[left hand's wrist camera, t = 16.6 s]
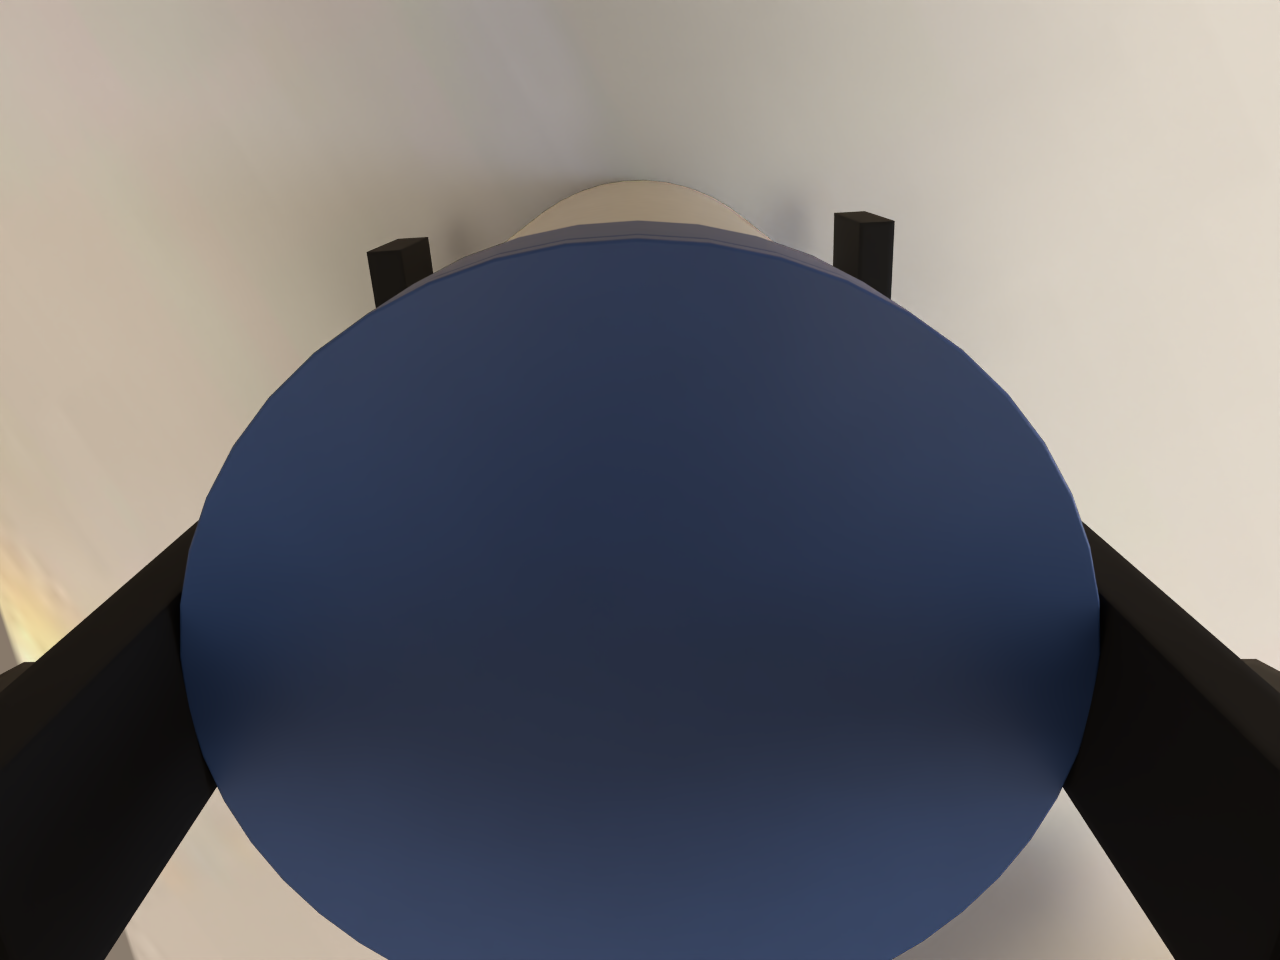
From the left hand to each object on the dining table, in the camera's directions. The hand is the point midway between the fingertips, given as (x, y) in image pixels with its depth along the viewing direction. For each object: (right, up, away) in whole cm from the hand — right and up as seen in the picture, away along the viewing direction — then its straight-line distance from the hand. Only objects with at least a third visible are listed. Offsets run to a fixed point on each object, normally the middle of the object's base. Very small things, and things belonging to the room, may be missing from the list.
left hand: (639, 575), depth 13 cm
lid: (0, -1, -3) cm, 3 cm away
